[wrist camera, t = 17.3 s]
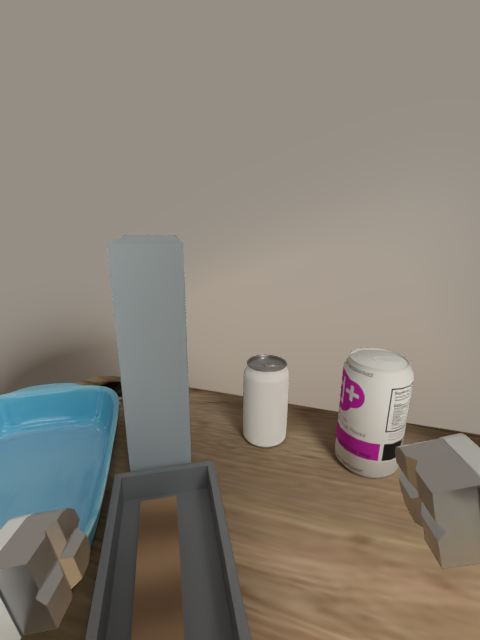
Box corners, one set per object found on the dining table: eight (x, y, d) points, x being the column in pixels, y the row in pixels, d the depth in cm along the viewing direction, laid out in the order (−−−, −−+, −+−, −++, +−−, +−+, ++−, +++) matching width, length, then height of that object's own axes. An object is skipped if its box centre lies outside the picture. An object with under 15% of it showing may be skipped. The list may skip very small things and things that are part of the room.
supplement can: (343, 481, 43) (356, 371, 38) (328, 440, 50) (337, 345, 46) (409, 482, 42) (429, 373, 38) (383, 441, 50) (398, 346, 46)
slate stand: (184, 414, 56) (176, 235, 48) (192, 486, 41) (183, 243, 33) (140, 419, 55) (124, 235, 47) (132, 495, 40) (107, 244, 32)
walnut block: (196, 859, 17) (194, 822, 16) (123, 888, 16) (116, 851, 15) (177, 522, 36) (176, 495, 35) (143, 528, 35) (140, 501, 34)
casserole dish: (-23, 428, 53) (-33, 387, 51) (128, 410, 58) (124, 372, 56) (-340, 819, 19) (-411, 740, 16) (97, 687, 24) (84, 616, 22)
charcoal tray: (213, 487, 41) (213, 460, 40) (307, 979, 15) (314, 939, 14) (118, 502, 39) (115, 473, 38) (25, 1117, 12) (4, 1083, 11)
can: (237, 427, 53) (237, 356, 50) (274, 419, 55) (277, 351, 52) (252, 453, 47) (254, 375, 44) (293, 443, 50) (298, 368, 46)
